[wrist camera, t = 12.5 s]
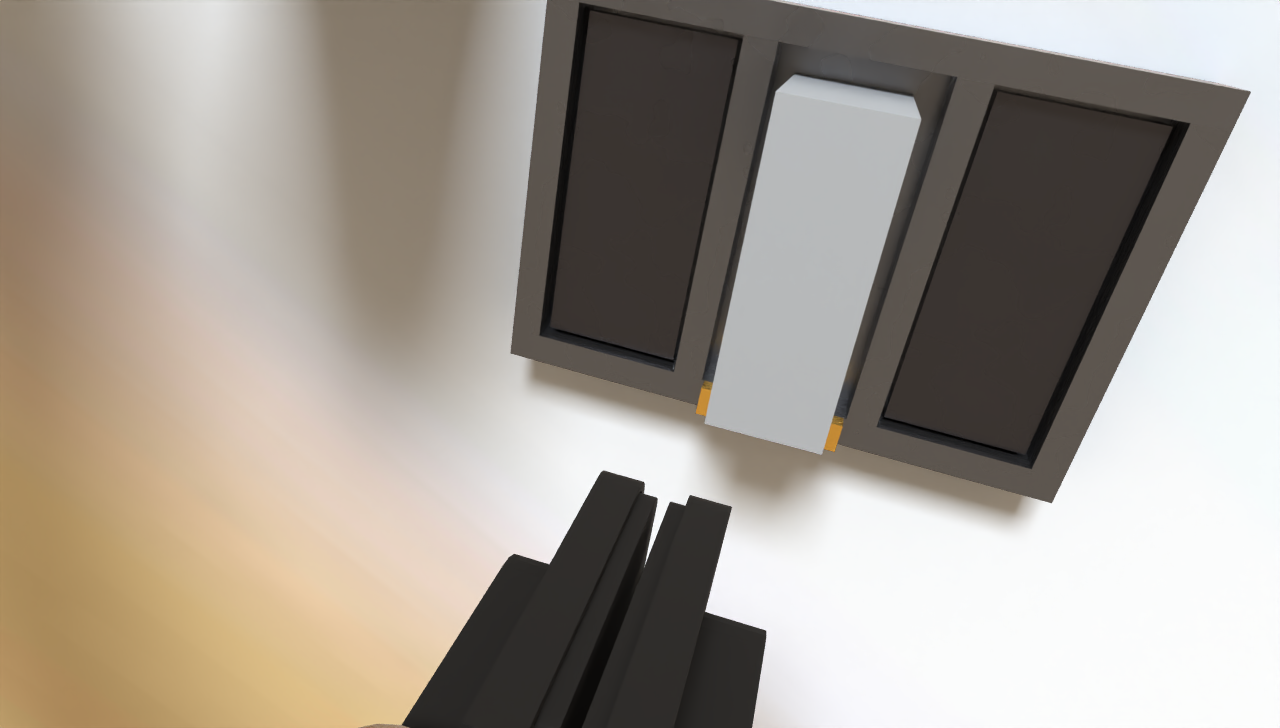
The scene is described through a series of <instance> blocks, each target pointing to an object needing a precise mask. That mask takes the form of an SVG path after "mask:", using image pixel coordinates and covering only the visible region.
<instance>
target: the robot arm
mask: <svg viewBox="0 0 1280 728" xmlns="http://www.w3.org/2000/svg"><path fill="white" fill-rule="evenodd" d="M644 487H645V483H644V482H642V481H639V480H635V479H632V478H628V477H625V476H621V475H617V474H614V473H610V472H607V471H602V472H601V473H600V475H599V476H598V478H597V480H596V482H595V484H594V485H593V487H592V489H591V491H590V493H589V494H588V496H587V498H586V500H585V502H584V503H583V505H582V507H581V509H580V511H579V512H578V514H577V516H576V518H575V520H574V521H573V523H572V525H571V527H570V529H569V530H568V532H567V534H566V536H565V538H564V539H563V541H562V543H561V545H560V547H559V548H558V550H557V552H556V554H555V556H554V557H553V559H552V561H551V563H550V565H549V564H546V563H543V562H539V561H536V560H533V559H530V558H526V557H523V556H520V555H516V554H513V555H512V556H510V557H509V558H508V560H507V561H506V562H505V563H504V565H503V566H502V568H501V569H500V571H499V573H498V574H497V576H496V577H495V579H494V580H493V582H492V584H491V585H490V587H489V588H488V590H487V591H486V593H485V595H484V596H483V598H482V599H481V601H480V602H479V604H478V606H477V607H476V609H475V610H474V612H473V613H472V615H471V617H470V618H469V620H468V621H467V623H466V625H465V626H464V628H463V629H462V631H461V632H460V634H459V636H458V637H457V639H456V640H455V642H454V643H453V645H452V647H451V648H450V650H449V651H448V653H447V654H446V656H445V658H444V659H443V661H442V662H441V664H440V665H439V667H438V669H437V670H436V672H435V673H434V675H433V676H432V678H431V680H430V681H429V683H428V684H427V686H426V687H425V689H424V691H423V692H422V694H421V695H420V697H419V699H418V700H417V702H416V703H415V705H414V706H413V708H412V710H411V711H410V713H409V714H408V716H407V717H406V719H405V721H404V722H403V724H402V725H389V724H374V725H370V726H365V727H360V728H752V724H753V718H754V712H755V705H756V699H757V693H758V687H759V680H760V674H761V668H762V662H763V655H764V649H765V642H766V631H765V630H762V629H759V628H756V627H752V626H749V625H746V624H743V623H739V622H736V621H733V620H729V619H726V618H723V617H720V616H716V615H713V614H710V613H707V612H705V610H706V606H707V602H708V598H709V594H710V590H711V586H712V582H713V579H714V575H715V571H716V567H717V563H718V559H719V555H720V551H721V547H722V544H723V540H724V536H725V532H726V528H727V524H728V520H729V516H730V512H731V508H732V507H731V506H727V505H723V504H720V503H716V502H713V501H709V500H706V499H702V498H699V497H695V496H692V495H690V496H689V498H688V501H687V504H686V506H684V505H681V504H677V503H674V502H670V503H669V505H668V508H667V511H666V513H665V516H664V518H663V521H662V523H661V526H660V529H659V531H658V534H657V536H656V539H655V541H654V544H653V547H652V549H651V552H650V554H649V557H648V559H647V562H646V564H645V561H646V556H647V551H648V546H649V541H650V536H651V532H652V527H653V522H654V517H655V512H656V507H657V500H658V499H657V498H656V497H653V496H649V495H646V494H644ZM644 566H645V567H644Z"/></svg>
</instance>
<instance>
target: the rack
mask: <svg viewBox="0 0 1280 728" xmlns="http://www.w3.org/2000/svg"><path fill="white" fill-rule="evenodd" d="M795 73H800V74H805V75H811V76H816V77H821V78H827V79H832V80H837V81H843V82H848V83H853V84H859V85H864V86H870V87H875V88H880V89H886V90H891V91H896V92H902V93H907V94H913V97H914V100H915V102H916V105H917V108H918V111H919V114H920V117H921V122H920V126H919V129H918V132H917V136H916V139H915V143H914V146H913V149H912V153H911V156H910V159H909V163H908V166H907V170H906V173H905V176H904V180H903V183H902V186H901V190H900V193H899V197H898V200H897V203H896V207H895V210H894V213H893V217H892V220H891V224H890V227H889V230H888V234H887V237H886V240H885V244H884V247H883V251H882V254H881V257H880V261H879V264H878V267H877V271H876V274H875V278H874V281H873V284H872V288H871V291H870V294H869V298H868V301H867V305H866V308H865V311H864V315H863V318H862V321H861V325H860V328H859V332H858V335H857V338H856V342H855V345H854V348H853V352H852V355H851V358H850V362H849V365H848V369H847V372H846V375H845V379H844V382H843V385H842V389H841V392H840V396H839V399H838V402H837V406H836V409H835V412H834V416H833V419H832V423H831V426H830V429H829V433H828V436H827V439H826V443H825V446H824V449H825V450H829V451H833V452H835V449H836V446H837V444H840V445H843V446H847V447H851V448H854V449H858V450H861V451H865V452H869V453H872V454H876V455H880V456H883V457H887V458H890V459H894V460H898V461H901V462H905V463H908V464H912V465H916V466H919V467H923V468H926V469H930V470H934V471H937V472H941V473H945V474H948V475H952V476H955V477H959V478H963V479H966V480H970V481H973V482H977V483H981V484H984V485H988V486H991V487H995V488H999V489H1002V490H1006V491H1010V492H1013V493H1017V494H1020V495H1024V496H1028V497H1031V498H1035V499H1038V500H1042V501H1046V502H1049V503H1052V502H1053V500H1054V498H1055V495H1056V493H1057V491H1058V489H1059V487H1060V485H1061V483H1062V481H1063V479H1064V477H1065V475H1066V473H1067V471H1068V469H1069V467H1070V465H1071V462H1072V460H1073V458H1074V456H1075V454H1076V452H1077V450H1078V448H1079V446H1080V444H1081V442H1082V440H1083V438H1084V436H1085V434H1086V431H1087V429H1088V427H1089V425H1090V423H1091V421H1092V419H1093V417H1094V415H1095V413H1096V411H1097V409H1098V407H1099V405H1100V403H1101V401H1102V398H1103V396H1104V394H1105V392H1106V390H1107V388H1108V386H1109V384H1110V382H1111V380H1112V378H1113V376H1114V374H1115V372H1116V370H1117V367H1118V365H1119V363H1120V361H1121V359H1122V357H1123V355H1124V353H1125V351H1126V349H1127V347H1128V345H1129V343H1130V341H1131V339H1132V337H1133V334H1134V332H1135V330H1136V328H1137V326H1138V324H1139V322H1140V320H1141V318H1142V316H1143V314H1144V312H1145V310H1146V308H1147V306H1148V303H1149V301H1150V299H1151V297H1152V295H1153V293H1154V291H1155V289H1156V287H1157V285H1158V283H1159V281H1160V279H1161V277H1162V275H1163V273H1164V270H1165V268H1166V266H1167V264H1168V262H1169V260H1170V258H1171V256H1172V254H1173V252H1174V250H1175V248H1176V246H1177V244H1178V242H1179V239H1180V237H1181V235H1182V233H1183V231H1184V229H1185V227H1186V225H1187V223H1188V221H1189V219H1190V217H1191V215H1192V213H1193V211H1194V209H1195V206H1196V204H1197V202H1198V200H1199V198H1200V196H1201V194H1202V192H1203V190H1204V188H1205V186H1206V184H1207V182H1208V180H1209V178H1210V175H1211V173H1212V171H1213V169H1214V167H1215V165H1216V163H1217V161H1218V159H1219V157H1220V155H1221V153H1222V151H1223V149H1224V147H1225V145H1226V142H1227V140H1228V138H1229V136H1230V134H1231V132H1232V130H1233V128H1234V126H1235V124H1236V122H1237V120H1238V118H1239V116H1240V114H1241V111H1242V109H1243V107H1244V105H1245V103H1246V101H1247V99H1248V97H1249V95H1250V93H1251V92H1250V91H1247V90H1243V89H1239V88H1235V87H1231V86H1227V85H1223V84H1219V83H1214V82H1209V81H1204V80H1199V79H1193V78H1188V77H1183V76H1178V75H1172V74H1167V73H1162V72H1156V71H1151V70H1146V69H1141V68H1135V67H1130V66H1125V65H1119V64H1114V63H1109V62H1104V61H1098V60H1093V59H1088V58H1083V57H1077V56H1072V55H1067V54H1061V53H1056V52H1051V51H1046V50H1040V49H1035V48H1030V47H1024V46H1019V45H1014V44H1009V43H1003V42H998V41H993V40H988V39H982V38H977V37H972V36H966V35H961V34H956V33H951V32H945V31H940V30H935V29H929V28H924V27H919V26H914V25H908V24H903V23H898V22H893V21H887V20H882V19H877V18H871V17H866V16H861V15H856V14H850V13H845V12H840V11H834V10H829V9H824V8H819V7H813V6H808V5H803V4H798V3H792V2H787V1H782V0H547V7H546V17H545V26H544V36H543V46H542V55H541V65H540V75H539V84H538V94H537V104H536V113H535V123H534V133H533V142H532V152H531V162H530V171H529V181H528V191H527V200H526V210H525V220H524V229H523V239H522V249H521V258H520V268H519V278H518V287H517V297H516V307H515V316H514V326H513V336H512V345H511V354H515V355H518V356H522V357H525V358H529V359H533V360H536V361H540V362H544V363H547V364H551V365H554V366H558V367H562V368H565V369H569V370H572V371H576V372H580V373H583V374H587V375H590V376H594V377H598V378H601V379H605V380H609V381H612V382H616V383H619V384H623V385H627V386H630V387H634V388H637V389H641V390H645V391H648V392H652V393H656V394H659V395H663V396H666V397H670V398H674V399H677V400H681V401H684V402H688V403H692V404H695V405H697V410H696V414H700V415H703V416H706V414H707V409H708V404H709V400H710V395H711V390H712V386H713V381H714V376H715V372H716V367H717V362H718V358H719V353H720V348H721V344H722V339H723V334H724V330H725V325H726V320H727V316H728V311H729V307H730V302H731V297H732V293H733V288H734V283H735V279H736V274H737V269H738V265H739V260H740V255H741V251H742V246H743V241H744V237H745V232H746V227H747V223H748V218H749V213H750V209H751V204H752V200H753V195H754V190H755V186H756V181H757V176H758V172H759V167H760V162H761V158H762V153H763V148H764V144H765V139H766V134H767V130H768V125H769V120H770V116H771V111H772V107H773V102H774V97H775V93H776V91H777V90H778V89H779V88H780V87H781V86H782V85H783V84H784V83H785V82H787V81H788V80H789V79H790V78H791V77H792V76H793V75H794V74H795Z"/></svg>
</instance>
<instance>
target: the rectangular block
mask: <svg viewBox="0 0 1280 728" xmlns="http://www.w3.org/2000/svg"><path fill="white" fill-rule="evenodd" d="M920 122H921V117H920V114H919V111H918V108H917V105H916V102H915V100H914V97H913V94H907V93H902V92H896V91H891V90H886V89H880V88H875V87H870V86H864V85H859V84H853V83H848V82H843V81H837V80H832V79H827V78H821V77H816V76H811V75H805V74H800V73H795V74H794V75H793V76H792V77H791V78H790V79H789V80H788V81H787V82H785V83H784V84H783V85H782V86H781V87H780V88H779V89H778V90H777V91H776V93H775V97H774V102H773V107H772V111H771V116H770V120H769V125H768V130H767V134H766V139H765V144H764V148H763V153H762V158H761V162H760V167H759V172H758V176H757V181H756V186H755V190H754V195H753V200H752V204H751V209H750V213H749V218H748V223H747V227H746V232H745V237H744V241H743V246H742V251H741V255H740V260H739V265H738V269H737V274H736V279H735V283H734V288H733V293H732V297H731V302H730V307H729V311H728V316H727V320H726V325H725V330H724V334H723V339H722V344H721V348H720V353H719V358H718V362H717V367H716V372H715V376H714V381H713V386H712V390H711V395H710V400H709V404H708V409H707V414H706V418H705V423H704V424H708V425H711V426H715V427H719V428H723V429H726V430H730V431H734V432H738V433H741V434H745V435H749V436H753V437H756V438H760V439H764V440H768V441H772V442H775V443H779V444H783V445H787V446H790V447H794V448H798V449H802V450H805V451H809V452H813V453H817V454H820V455H822V453H823V450H824V446H825V443H826V439H827V436H828V433H829V429H830V426H831V423H832V419H833V416H834V412H835V409H836V406H837V402H838V399H839V396H840V392H841V389H842V385H843V382H844V379H845V375H846V372H847V369H848V365H849V362H850V358H851V355H852V352H853V348H854V345H855V342H856V338H857V335H858V332H859V328H860V325H861V321H862V318H863V315H864V311H865V308H866V305H867V301H868V298H869V294H870V291H871V288H872V284H873V281H874V278H875V274H876V271H877V267H878V264H879V261H880V257H881V254H882V251H883V247H884V244H885V240H886V237H887V234H888V230H889V227H890V224H891V220H892V217H893V213H894V210H895V207H896V203H897V200H898V197H899V193H900V190H901V186H902V183H903V180H904V176H905V173H906V170H907V166H908V163H909V159H910V156H911V153H912V149H913V146H914V143H915V139H916V136H917V132H918V129H919V126H920Z"/></svg>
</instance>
